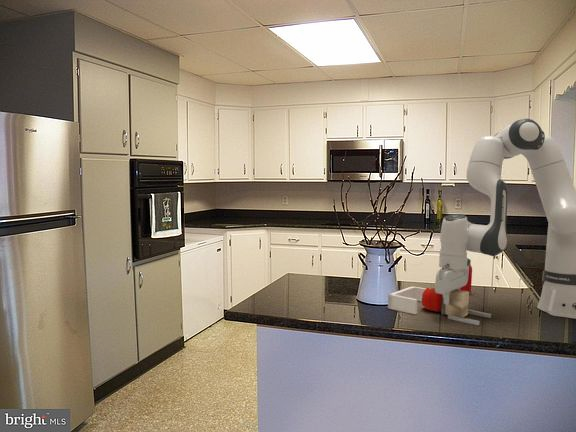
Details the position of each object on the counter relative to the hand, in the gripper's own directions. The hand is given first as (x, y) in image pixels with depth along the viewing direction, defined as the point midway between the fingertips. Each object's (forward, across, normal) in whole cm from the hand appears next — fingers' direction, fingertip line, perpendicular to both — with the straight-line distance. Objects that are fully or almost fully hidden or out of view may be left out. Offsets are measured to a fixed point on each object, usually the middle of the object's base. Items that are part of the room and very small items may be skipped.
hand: (450, 302), depth 164 cm
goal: (+4, 0, +13) cm, 14 cm away
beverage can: (+5, +33, +8) cm, 34 cm away
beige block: (+4, 0, -2) cm, 5 cm away
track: (+4, 0, -7) cm, 8 cm away
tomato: (+4, 0, +6) cm, 7 cm away
